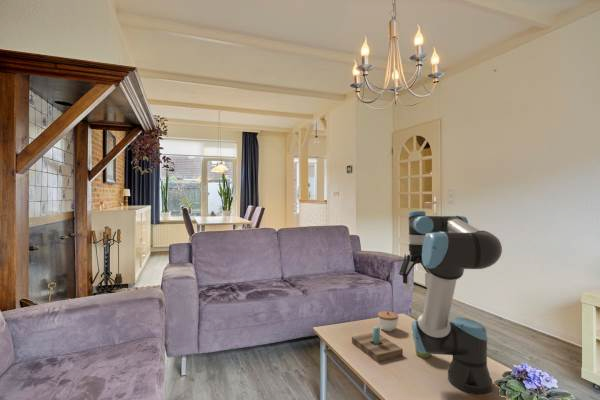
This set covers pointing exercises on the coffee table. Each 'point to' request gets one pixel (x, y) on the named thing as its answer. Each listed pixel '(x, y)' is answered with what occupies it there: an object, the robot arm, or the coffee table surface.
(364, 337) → the hole block
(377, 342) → the peg
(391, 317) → the lidded jar
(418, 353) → the plant pot
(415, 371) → the coffee table surface
